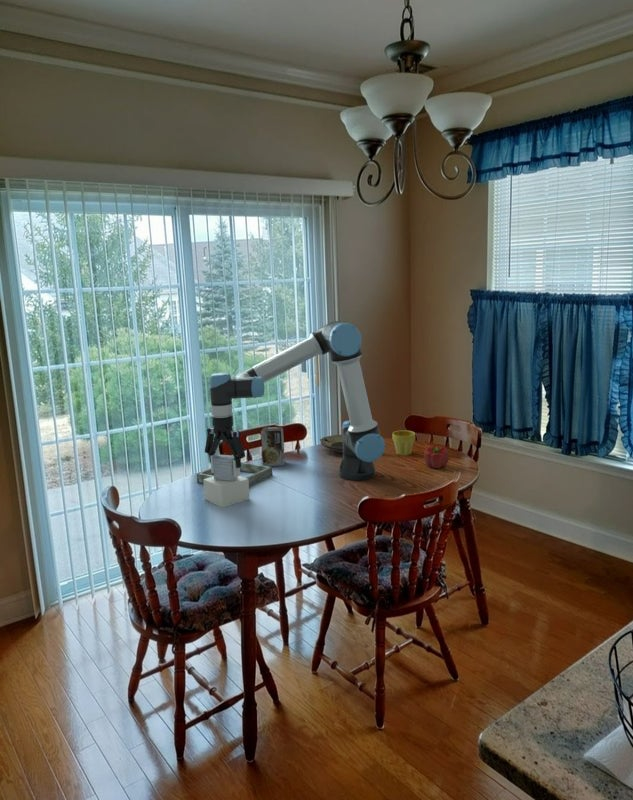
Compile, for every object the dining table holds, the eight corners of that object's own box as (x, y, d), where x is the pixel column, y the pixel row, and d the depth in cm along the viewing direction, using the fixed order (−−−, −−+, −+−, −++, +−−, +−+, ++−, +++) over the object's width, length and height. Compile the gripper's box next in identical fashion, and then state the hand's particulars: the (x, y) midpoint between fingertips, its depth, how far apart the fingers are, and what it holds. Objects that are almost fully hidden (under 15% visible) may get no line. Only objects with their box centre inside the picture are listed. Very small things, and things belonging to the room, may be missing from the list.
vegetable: (449, 471, 250) (449, 448, 248) (424, 471, 252) (424, 448, 250) (448, 464, 261) (448, 441, 259) (423, 463, 263) (423, 441, 261)
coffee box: (285, 461, 271) (283, 426, 268) (282, 466, 265) (281, 430, 261) (265, 461, 272) (263, 426, 269) (262, 466, 265) (260, 430, 262)
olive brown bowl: (344, 441, 302) (343, 426, 301) (388, 453, 280) (388, 437, 278) (310, 450, 288) (309, 435, 286) (354, 463, 265) (353, 446, 264)
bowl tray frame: (272, 475, 252) (272, 467, 252) (239, 490, 235) (239, 482, 234) (231, 467, 264) (231, 460, 264) (197, 481, 247) (196, 473, 246)
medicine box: (238, 478, 225) (237, 455, 224) (232, 481, 221) (231, 459, 219) (219, 476, 228) (218, 454, 226) (213, 479, 224) (212, 457, 222)
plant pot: (409, 458, 271) (409, 436, 269) (388, 454, 277) (388, 434, 275) (418, 452, 280) (418, 431, 278) (398, 449, 285) (398, 429, 283)
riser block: (249, 499, 226) (248, 478, 224) (222, 507, 218) (221, 486, 216) (231, 491, 234) (230, 472, 233) (204, 499, 227) (203, 479, 225)
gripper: (253, 416, 217) (256, 475, 221) (206, 410, 229) (209, 466, 233) (239, 420, 211) (243, 481, 215) (192, 414, 223) (196, 472, 227)
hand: (225, 473), depth 224 cm, fingers open, 10 cm apart
